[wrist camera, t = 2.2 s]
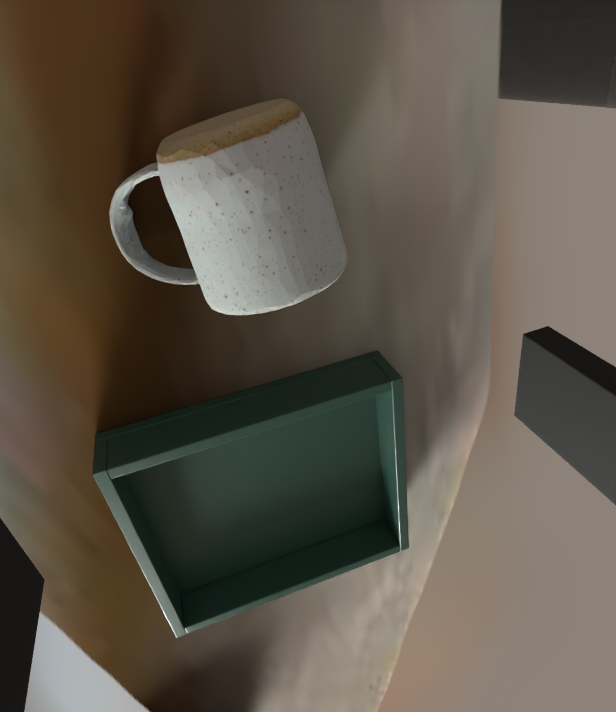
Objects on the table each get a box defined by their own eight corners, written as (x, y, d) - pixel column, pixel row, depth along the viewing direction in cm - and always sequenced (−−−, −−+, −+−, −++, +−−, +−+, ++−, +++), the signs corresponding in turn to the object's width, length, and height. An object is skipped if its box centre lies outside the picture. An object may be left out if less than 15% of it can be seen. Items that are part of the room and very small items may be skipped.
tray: (377, 350, 35) (402, 377, 32) (389, 514, 45) (409, 548, 42) (95, 434, 31) (91, 474, 28) (172, 594, 41) (176, 638, 38)
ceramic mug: (279, 85, 25) (328, 92, 19) (321, 234, 30) (372, 280, 23) (77, 159, 24) (57, 193, 18) (153, 302, 29) (159, 370, 22)
